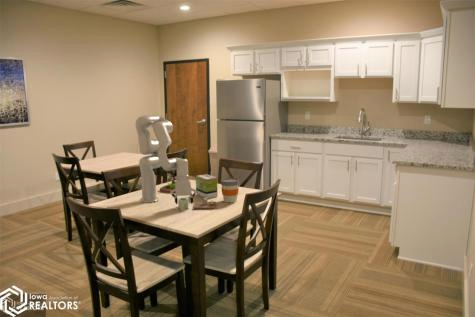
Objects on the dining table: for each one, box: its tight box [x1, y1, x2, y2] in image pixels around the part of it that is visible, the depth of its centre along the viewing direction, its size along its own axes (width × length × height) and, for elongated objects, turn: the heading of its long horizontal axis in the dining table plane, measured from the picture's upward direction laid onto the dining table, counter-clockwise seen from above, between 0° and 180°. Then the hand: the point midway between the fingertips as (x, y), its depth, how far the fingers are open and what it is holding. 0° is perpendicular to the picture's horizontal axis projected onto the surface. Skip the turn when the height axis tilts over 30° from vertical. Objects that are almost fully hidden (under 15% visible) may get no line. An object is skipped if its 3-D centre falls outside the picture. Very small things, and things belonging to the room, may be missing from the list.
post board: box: [193, 197, 217, 211], centre depth 251 cm, size 14×14×5 cm
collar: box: [177, 197, 190, 212], centre depth 246 cm, size 10×6×6 cm, turn 2°
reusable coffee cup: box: [220, 177, 240, 203], centre depth 263 cm, size 13×13×15 cm
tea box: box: [195, 173, 218, 200], centre depth 277 cm, size 15×10×15 cm, turn 37°
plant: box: [159, 176, 177, 194], centre depth 295 cm, size 20×20×11 cm
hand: (184, 203), depth 248 cm, fingers open, 9 cm apart
